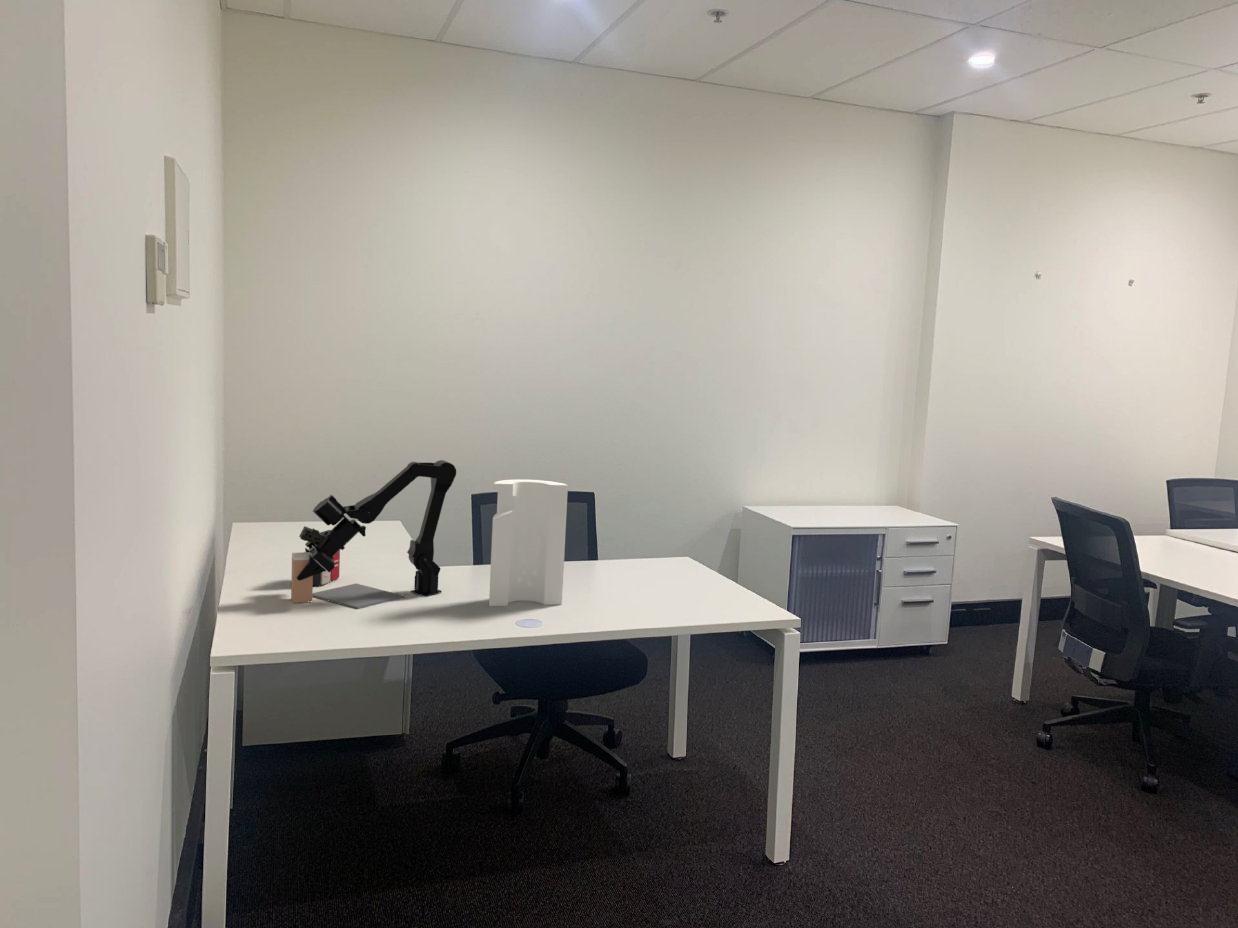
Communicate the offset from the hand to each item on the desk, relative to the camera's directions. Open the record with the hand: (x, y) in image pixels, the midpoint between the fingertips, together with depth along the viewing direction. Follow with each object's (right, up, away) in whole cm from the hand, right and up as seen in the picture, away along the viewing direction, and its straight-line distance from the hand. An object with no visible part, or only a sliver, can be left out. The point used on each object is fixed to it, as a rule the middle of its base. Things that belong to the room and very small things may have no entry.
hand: (296, 577), depth 243 cm
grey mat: (+14, -7, +8) cm, 18 cm away
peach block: (+1, -7, +1) cm, 7 cm away
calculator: (0, -5, +22) cm, 23 cm away
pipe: (+61, -9, +14) cm, 63 cm away
